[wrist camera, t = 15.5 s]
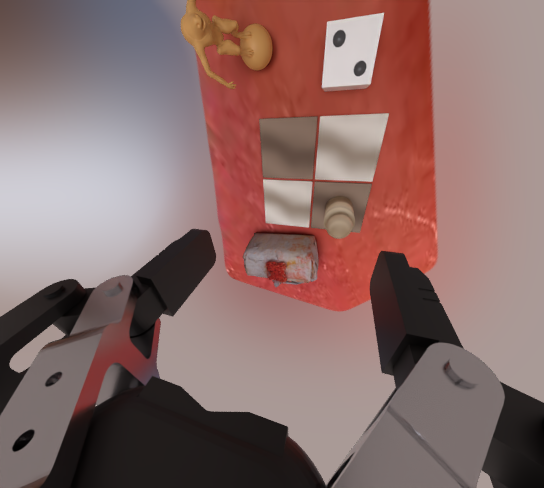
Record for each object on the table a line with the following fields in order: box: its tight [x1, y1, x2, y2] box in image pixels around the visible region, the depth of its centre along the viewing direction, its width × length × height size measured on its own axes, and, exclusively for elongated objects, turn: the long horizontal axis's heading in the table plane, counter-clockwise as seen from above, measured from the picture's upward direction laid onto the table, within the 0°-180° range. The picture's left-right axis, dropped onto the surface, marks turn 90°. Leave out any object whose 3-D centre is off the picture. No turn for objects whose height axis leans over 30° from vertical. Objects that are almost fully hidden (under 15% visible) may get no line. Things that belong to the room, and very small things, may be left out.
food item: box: [243, 233, 318, 287], centre depth 37 cm, size 14×8×10 cm, turn 97°
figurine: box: [181, 0, 273, 89], centre depth 21 cm, size 8×6×12 cm
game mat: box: [259, 113, 389, 233], centre depth 32 cm, size 18×18×1 cm
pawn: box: [324, 196, 355, 239], centre depth 30 cm, size 4×4×8 cm
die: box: [322, 13, 384, 92], centre depth 21 cm, size 5×5×5 cm
